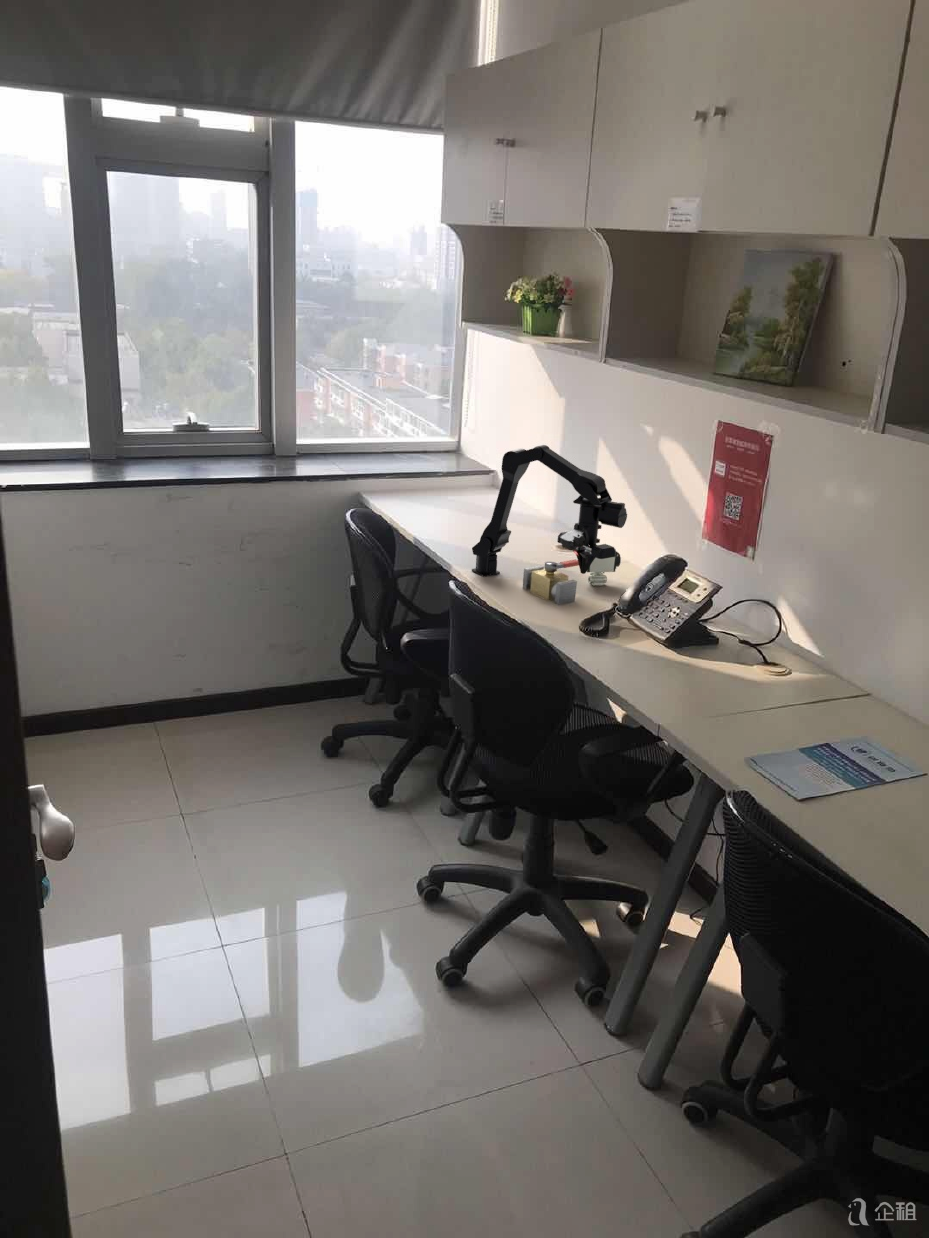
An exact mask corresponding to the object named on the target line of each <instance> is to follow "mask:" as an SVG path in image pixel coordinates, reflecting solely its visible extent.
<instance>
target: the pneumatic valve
mask: <svg viewBox="0 0 929 1238" xmlns="http://www.w3.org/2000/svg"><path fill="white" fill-rule="evenodd" d="M621 559H622V558H621V554H620V553H619V552H618V551H617V550H616V552H615V557H611V558H605V559H598V558H595V559H594V561H593V562H592V563H591V565H590V567H589V568H588V570H587V571H586V573H589V575H588V578H587V581H588V583H589V584H591V585H592V586H593V587H604V586H605V585H606V583H608V582H607V581H608V576H607V575H606V574H605V573H615V572H616V569H617V568H618V567H620V565H621V561H622V560H621Z"/></svg>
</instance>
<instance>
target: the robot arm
mask: <svg viewBox="0 0 929 1238" xmlns="http://www.w3.org/2000/svg"><path fill="white" fill-rule="evenodd" d="M501 460H502V461H501V473H502V481H501V485H500V488H499V492H498V495H497V498H496V502H495V506H494V508H493V513H492V516H491V520H490V522H489V523H488V524H487V526H486V527H485V528H484V530H483V532H482V534H481V536H480V538H479V542H477V543H476V544H475V545H474V546H472V547H471V549H472V554H473V555H474V556H476V557H475V558H476V560H475V568H471V571H472V572H474V574H475V573H476V574H477V575H479V576H482V577H488V576H494V575H500V574H501V572H500V571H499V570H498V569H497V568H498V555H497V553H501V551H502V549H503V548H504V547H505V546H506V545H507V544H508V543H509V542H510V540H509V539H510V536H511V534H512V531H511V530H509V528H508V526H507V524H508V520H509V517H510V512H511V509H512V506H513V503H514V500H515V496H516V492H517V488H518V485H519V483H520V482H519V481H520V480H521V479H522V478H523V476H524V475H525V474H526V472H527V470H528V468H529V466H530V465H531V463H532V462H536V461H539V462H540V463H541V464H543V466H545V467H547V468H549V469H550V470H552V471H553V472H554V473H556V474H557V475H559V476H560V477H561V478H563V479H565V480H566V481H568V482H569V483H570V484H571V485H572V487H573V489H574V490H575V491H576V492H577V493H578V494H579V496H578V497H577V498H576V499H574V500H572V501H573V502H572V503H574V504H577V505H579V513H578V514H579V515H578V521H577V522H575V523H574V526H573V529H572V530H568V531H564V532H563V531H562V532H560V533H559V534H558V536H557V541H556V542H557V543H558V544H561V548H563V549H564V548H565V549H566V550H568V551H572V552H573V553H574V554H575V556H576V558H577V559H576V560H578V563H579V565H578V567H579V571H580V574H581V575H584V574H586V573H587V572H586V571H587V570H588V568H589V567H590V565H591V563H592V562H593V561H594V559H595V558H598V559H605V558H611V557H615V552H616V551H617V550H616V548H615V546H612V545H609V544H606V543H603V544H600V541H601V539H600V538H598V533H599V530H601V529H602V525H605V526H610V527H614V528H618V529H622V528H623V527H624V526H625V524H626V522H627V518H628V513H627V512H628V511H627V509H626V503H624V502H617V501H616V502H615V501H613V499H612V497H611V494H610V492H609V491H608V489H607V486H606V480H605V479H604V478H603V476H600V475H598V474H596V473H593V472H590V471H588V470H584V469H581V468H580V467H577V465H575V464H573V463H572V462H570V461H569V460H567V458H566V459H565V458H564V457H563V456H561V455H560V454H558V453H557V452H556V451H554V450H552V449H551V448H550V447H549V446H548V445H546V444H541V445H538V446H534V447H532V448H529V449H525V448H517V449H514V450H513V449H512V450H510V451H507V452H505V453H504V454H503V456H502V459H501ZM599 496H600V497H599ZM599 523H600V524H599Z"/></svg>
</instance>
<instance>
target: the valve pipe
mask: <svg viewBox="0 0 929 1238" xmlns="http://www.w3.org/2000/svg"><path fill="white" fill-rule="evenodd" d="M544 568H545V566H543V565H536V566H530V567H524V568H523V576H522V577H523V579H522V589H523V590H524V591H528V590H530V594H532V595H534V596H537V597H539V598H540V599H543V600H545V601H547V602H549V601H554V604H555V605H557V606H562V605H566V604H571V603H576V595H577V584H578V581H577V580H575V579H570V580H569V575H567V574H565V573H563V572H561V571H558V570H557V571H556V572H548V571H545V570H544Z"/></svg>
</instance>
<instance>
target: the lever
mask: <svg viewBox="0 0 929 1238" xmlns="http://www.w3.org/2000/svg"><path fill="white" fill-rule="evenodd" d="M572 567H579V563H578V559H571V560H566V561H565V560H564V561H560V562H555V561H545V562H544V570H545V571H548V572H556V571H558V569H567V568H572Z"/></svg>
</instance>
